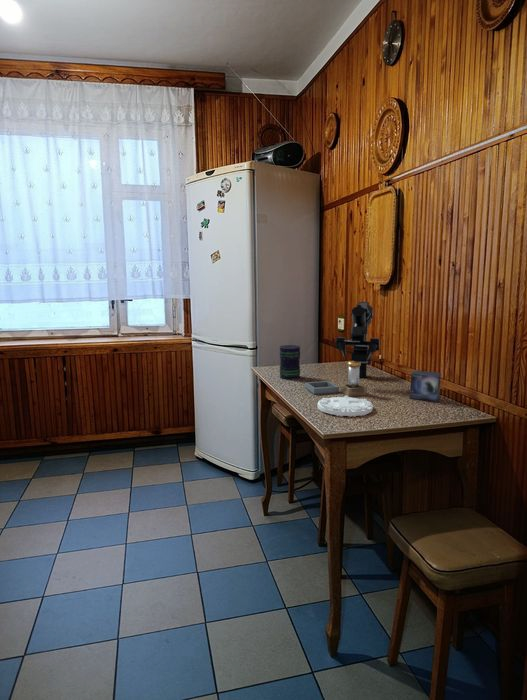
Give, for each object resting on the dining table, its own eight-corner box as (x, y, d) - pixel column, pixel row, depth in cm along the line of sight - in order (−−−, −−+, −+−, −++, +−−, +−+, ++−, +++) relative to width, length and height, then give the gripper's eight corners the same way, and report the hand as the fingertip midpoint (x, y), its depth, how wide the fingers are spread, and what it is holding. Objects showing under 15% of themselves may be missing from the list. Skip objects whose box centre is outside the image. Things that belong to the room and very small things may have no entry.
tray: (304, 388, 203) (304, 382, 202) (328, 386, 206) (328, 381, 205) (313, 394, 192) (313, 388, 192) (338, 392, 195) (338, 386, 195)
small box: (409, 399, 184) (410, 373, 183) (412, 395, 190) (413, 370, 188) (437, 402, 179) (438, 375, 178) (439, 398, 185) (441, 372, 183)
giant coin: (379, 407, 175) (379, 399, 175) (362, 421, 158) (362, 413, 158) (329, 400, 185) (329, 393, 185) (308, 412, 168) (308, 404, 168)
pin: (344, 392, 196) (345, 361, 194) (356, 391, 197) (357, 360, 195) (350, 395, 191) (350, 364, 189) (362, 394, 192) (363, 363, 190)
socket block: (340, 391, 197) (340, 384, 196) (357, 390, 199) (358, 383, 198) (348, 396, 189) (348, 389, 189) (366, 394, 191) (366, 387, 191)
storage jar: (300, 379, 219) (300, 348, 217) (279, 379, 220) (279, 348, 217) (299, 375, 229) (299, 345, 227) (279, 375, 229) (279, 345, 227)
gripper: (336, 318, 204) (332, 347, 195) (380, 319, 199) (378, 349, 190) (338, 334, 213) (334, 362, 204) (380, 335, 207) (378, 364, 199)
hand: (355, 359), depth 199 cm, fingers open, 9 cm apart
